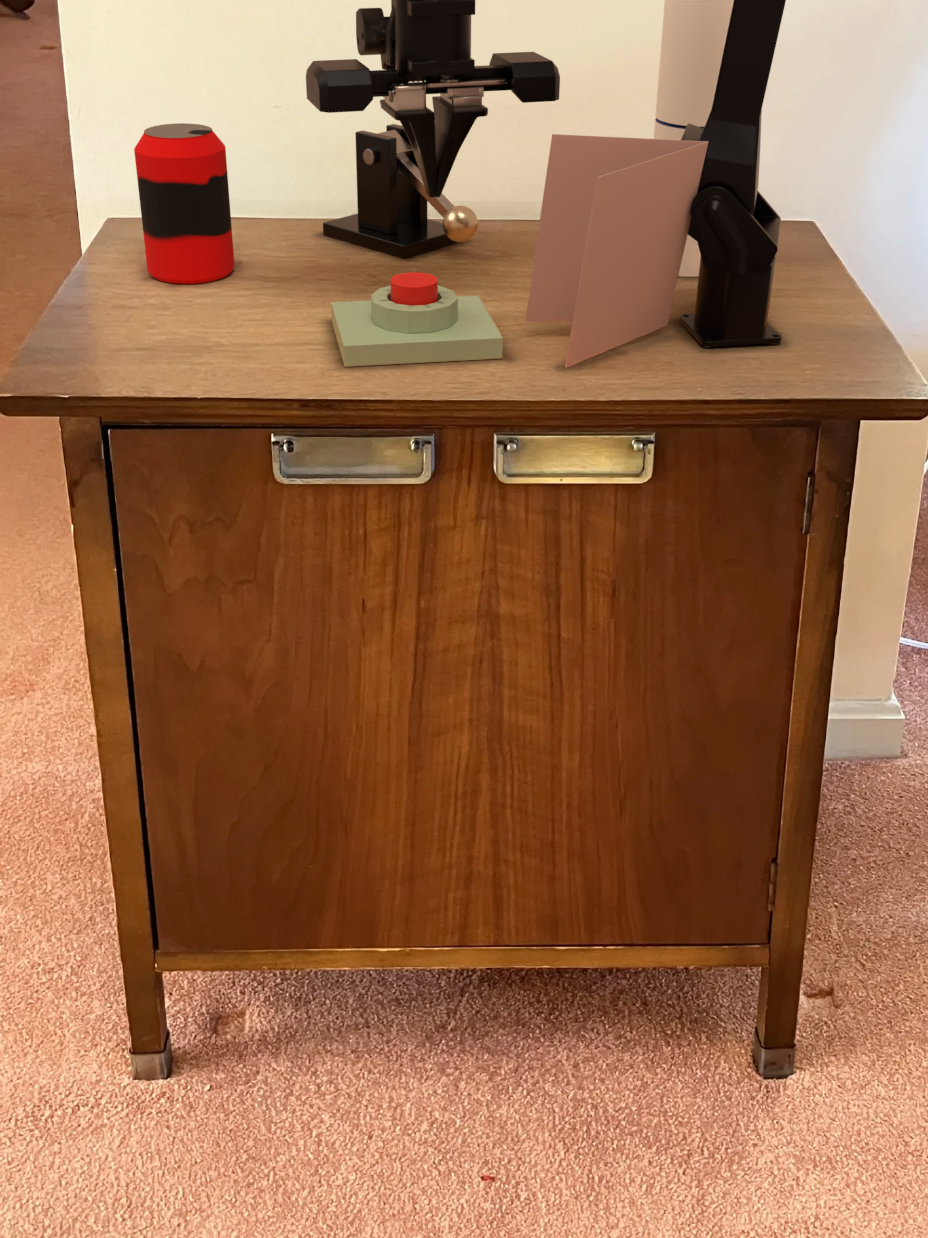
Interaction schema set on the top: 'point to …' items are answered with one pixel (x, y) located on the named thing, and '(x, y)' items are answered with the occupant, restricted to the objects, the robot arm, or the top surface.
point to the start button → (414, 289)
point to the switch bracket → (387, 203)
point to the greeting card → (612, 237)
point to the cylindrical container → (689, 78)
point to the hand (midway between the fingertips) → (433, 196)
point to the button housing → (415, 330)
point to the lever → (456, 219)
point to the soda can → (184, 203)
